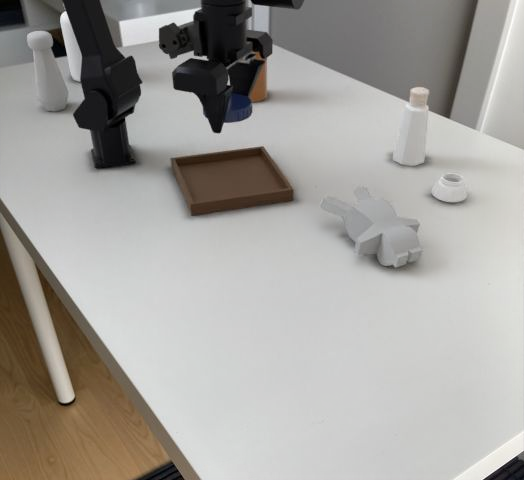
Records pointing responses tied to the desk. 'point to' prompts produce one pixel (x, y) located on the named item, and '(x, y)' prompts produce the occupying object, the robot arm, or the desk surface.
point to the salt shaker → (47, 72)
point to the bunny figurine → (377, 228)
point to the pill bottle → (71, 47)
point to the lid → (237, 108)
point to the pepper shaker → (413, 130)
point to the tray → (230, 180)
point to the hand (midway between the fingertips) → (227, 123)
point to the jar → (260, 83)
